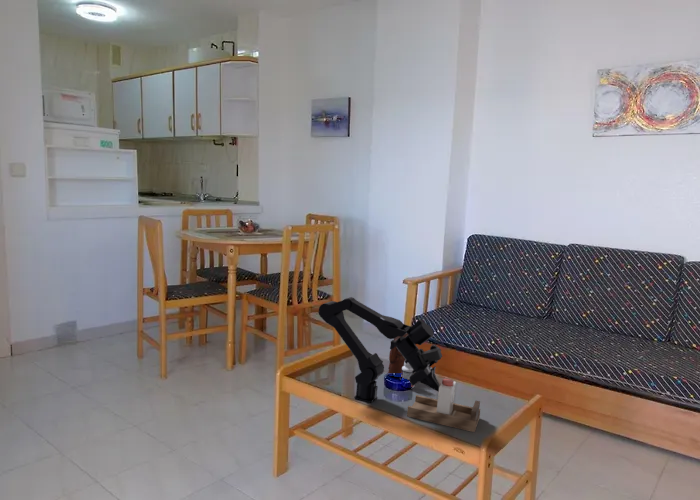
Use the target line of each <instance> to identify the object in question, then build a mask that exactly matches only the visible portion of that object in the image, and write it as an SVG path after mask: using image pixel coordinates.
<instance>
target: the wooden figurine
mask: <svg viewBox="0 0 700 500" xmlns="http://www.w3.org/2000/svg"><path fill="white" fill-rule="evenodd" d="M406 336H408V333H407V334H405V335H403V337H406ZM400 337H401V336H398V337H396V338H394V339H393V340H397V339H398V338H400ZM388 359H389V365H388V370H387V371H388V372H387V374H388V373H402V367H403V366H405V365H404V361H405V360H406V359H405V358H404V357H403V355H402V354H401V353H400V351H399V350H398V349H397V347H394V348H393V349H392V350H391V349H390V351H389V357H388Z"/></svg>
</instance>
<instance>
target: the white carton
mask: <svg viewBox="0 0 700 500" xmlns="http://www.w3.org/2000/svg"><path fill="white" fill-rule="evenodd" d="M456 383H457V381H455V380H453V379H450V378H443V379H442V381H441V383H440V384H439V385H440V386H439V392H438V395H437V400H438V402H437V412H439V413H443V414H447V415H451V413H452V411H453V403H455V402H454V401H455V392H456V386H457V385H456Z"/></svg>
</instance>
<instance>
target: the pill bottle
mask: <svg viewBox="0 0 700 500" xmlns="http://www.w3.org/2000/svg"><path fill="white" fill-rule="evenodd" d="M404 365H405V366H403V367H402V374H401V377H402V378H404V379H407V380H409V378H410V376H411V375H412V374H413V372H412V371H413V369H412V367H411V366H410V365H409V363H407V364H406V363H405V361H404ZM401 377H400V378H401ZM415 385H416V384H415ZM415 385H412V384H411V387H412V388H411V389H414V388H415Z"/></svg>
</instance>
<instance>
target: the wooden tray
mask: <svg viewBox="0 0 700 500" xmlns="http://www.w3.org/2000/svg"><path fill="white" fill-rule="evenodd" d="M437 402H438V398H432V397H428V396H424V395H419V394H416V395H415V400H414V402H413V404H412V405H408V406H407V411H406V412H407V413H406V417H408V418H413V419H415V420H416V419H417V420H421V421H424V422H429V423H433V424H438V425H442V426H446V427H451V428H456V429H459V430H463V431H467V432H472V433H475V432H476V429H477V426H478V423H479V421H480V418H481V417H480V416H481V408H480V407H481V405H480V404H481V401H480V400H475V401H474V404H473V405H472V406H468V405H465V404H460V403H455V402H454V403H453V411H452V413H451V415H447V414H443V413H439V412H437Z"/></svg>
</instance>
